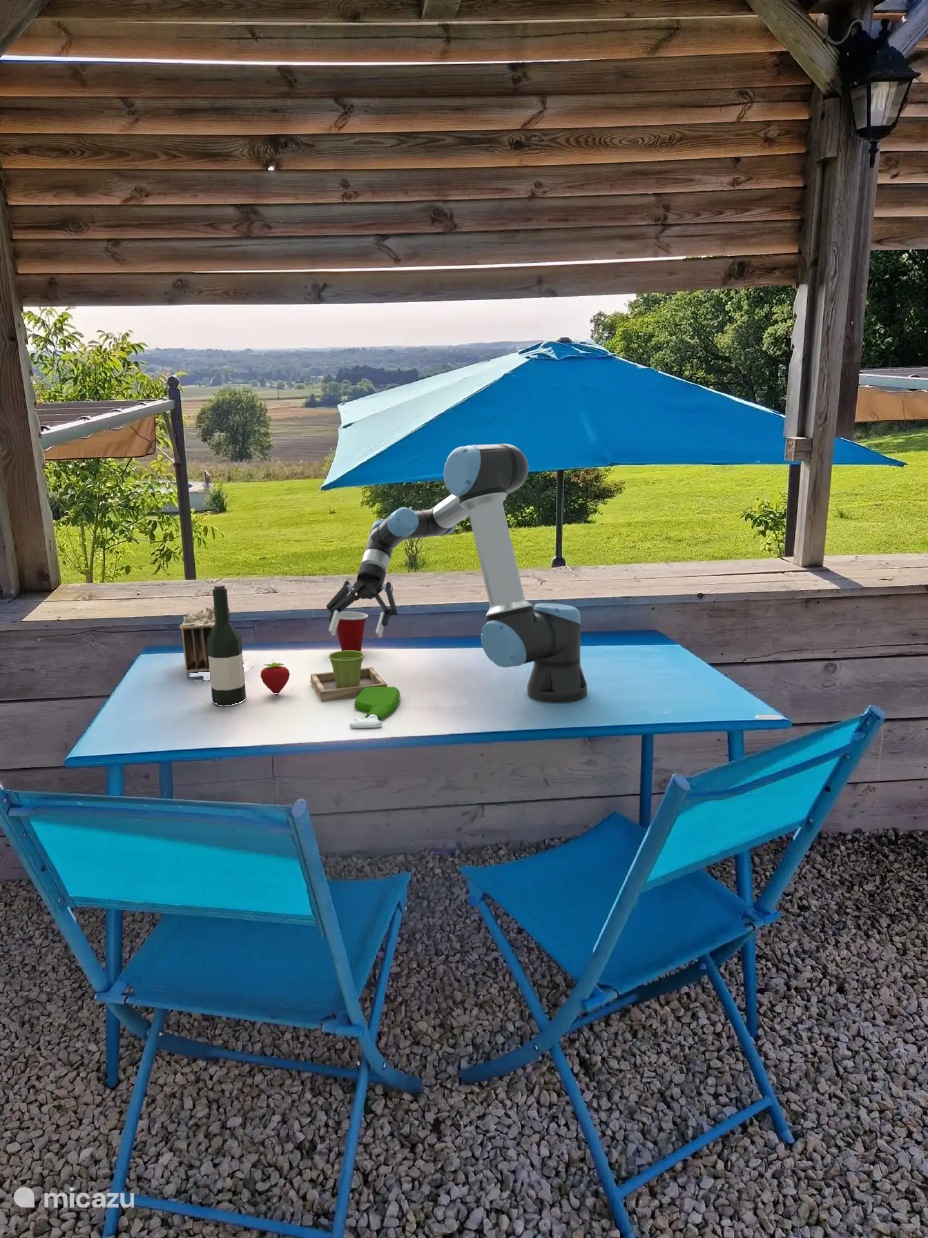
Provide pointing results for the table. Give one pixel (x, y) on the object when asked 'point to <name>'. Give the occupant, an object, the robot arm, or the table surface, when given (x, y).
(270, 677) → the strawberry
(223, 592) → the wine bottle
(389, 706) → the spray bottle
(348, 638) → the plastic cup
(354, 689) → the square wooden tray
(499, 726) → the table surface
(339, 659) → the plant pot
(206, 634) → the wooden crate with straw
